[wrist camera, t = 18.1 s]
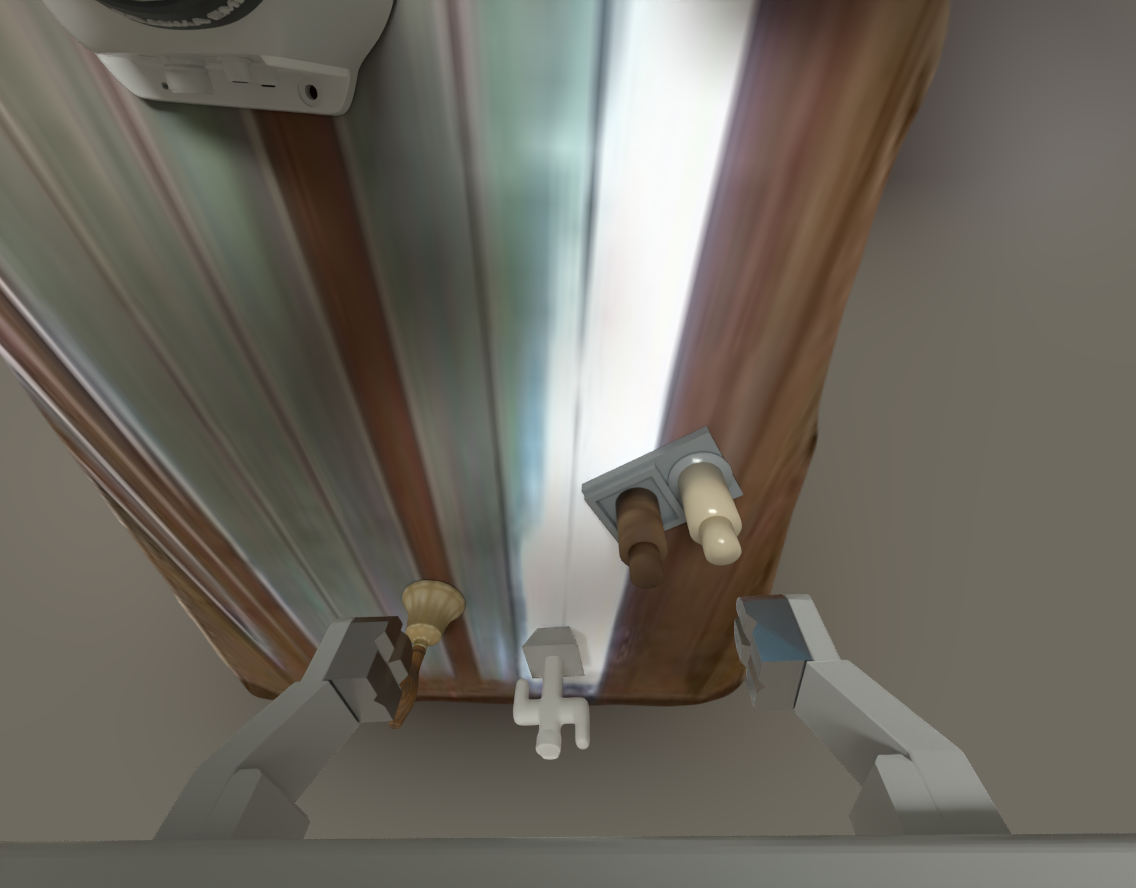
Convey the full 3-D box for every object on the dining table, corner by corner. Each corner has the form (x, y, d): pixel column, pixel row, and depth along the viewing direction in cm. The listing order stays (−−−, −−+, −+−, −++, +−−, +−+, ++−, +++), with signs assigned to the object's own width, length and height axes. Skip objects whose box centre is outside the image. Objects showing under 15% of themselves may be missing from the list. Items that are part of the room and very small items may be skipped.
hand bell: (475, 613, 65) (447, 739, 52) (421, 624, 67) (380, 748, 54) (447, 573, 61) (408, 698, 48) (390, 586, 63) (337, 710, 50)
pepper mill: (617, 521, 54) (624, 596, 45) (613, 489, 51) (619, 562, 43) (659, 517, 53) (673, 591, 45) (657, 485, 51) (671, 557, 42)
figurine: (517, 623, 66) (500, 739, 54) (585, 618, 65) (585, 736, 53) (527, 654, 70) (514, 770, 57) (592, 650, 69) (593, 767, 56)
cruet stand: (621, 536, 56) (629, 623, 47) (581, 484, 52) (580, 567, 43) (742, 486, 52) (778, 571, 42) (708, 425, 48) (739, 503, 38)
